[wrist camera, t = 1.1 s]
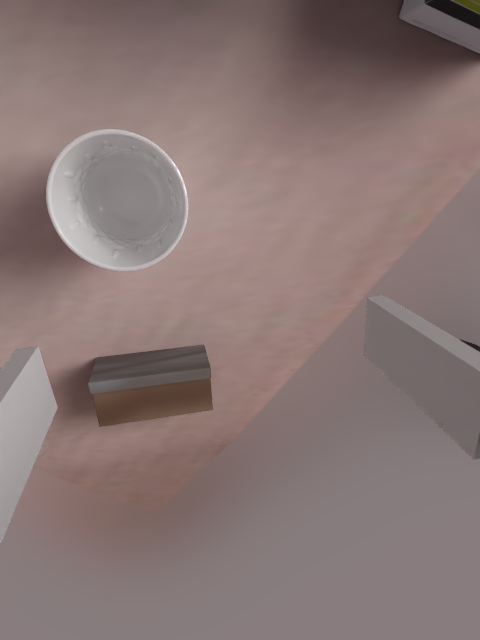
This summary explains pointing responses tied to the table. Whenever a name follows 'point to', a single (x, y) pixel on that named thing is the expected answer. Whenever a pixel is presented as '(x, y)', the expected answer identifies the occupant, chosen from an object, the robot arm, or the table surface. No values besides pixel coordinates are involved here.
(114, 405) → the block
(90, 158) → the white cup
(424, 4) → the tea box
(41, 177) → the table surface
